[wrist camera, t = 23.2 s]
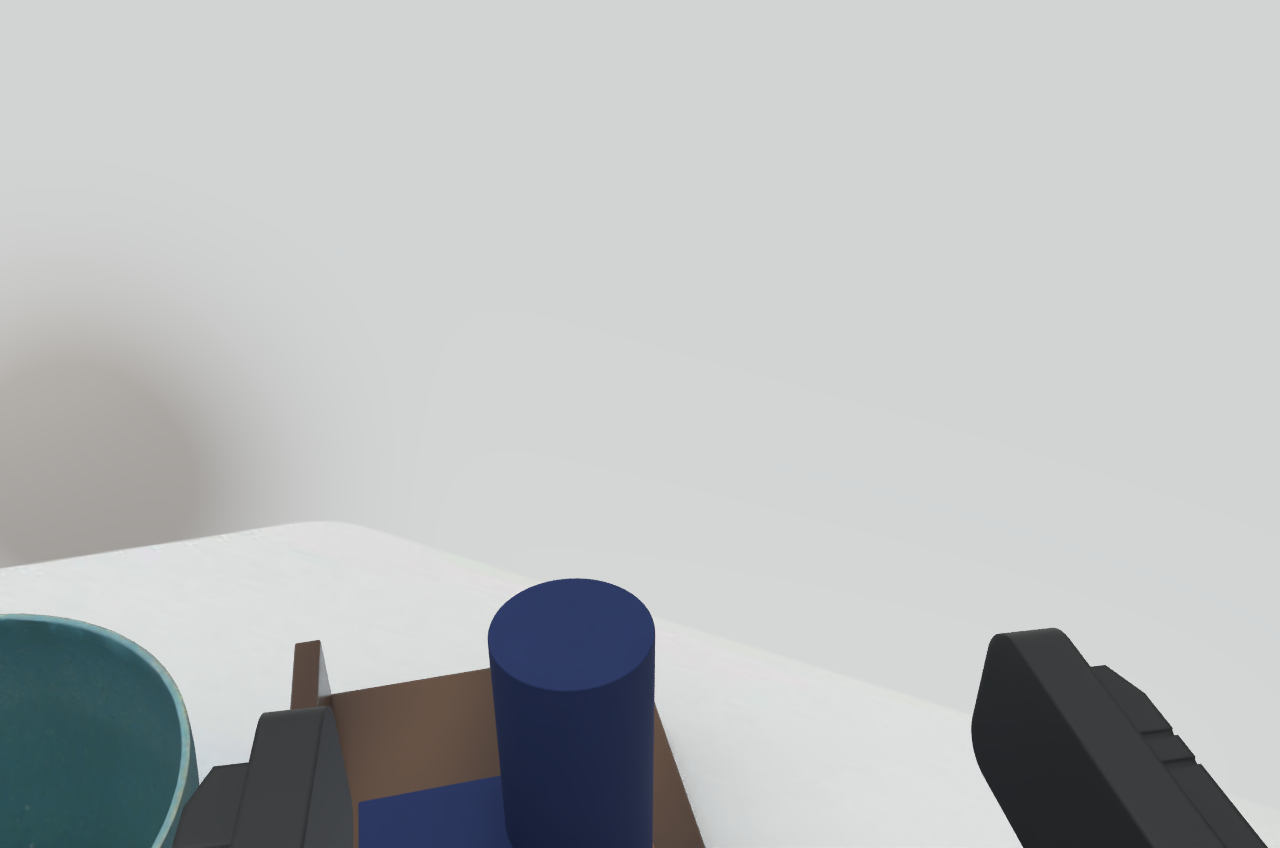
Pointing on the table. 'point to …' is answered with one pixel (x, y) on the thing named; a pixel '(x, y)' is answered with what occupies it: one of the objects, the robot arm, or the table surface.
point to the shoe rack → (448, 740)
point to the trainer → (550, 733)
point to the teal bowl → (88, 739)
